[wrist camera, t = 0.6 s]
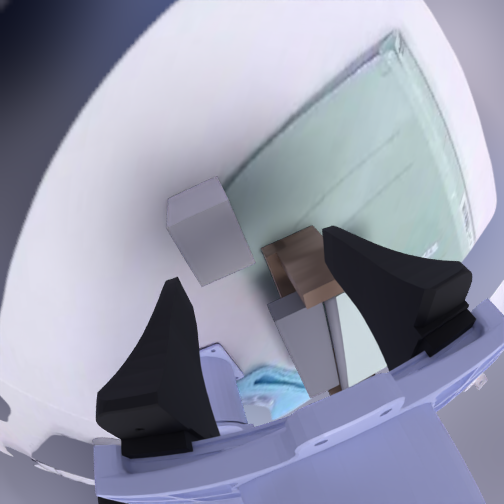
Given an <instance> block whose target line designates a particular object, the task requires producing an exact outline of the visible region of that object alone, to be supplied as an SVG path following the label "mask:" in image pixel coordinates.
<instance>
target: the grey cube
mask: <svg viewBox="0 0 504 504" xmlns="http://www.w3.org/2000/svg"><path fill="white" fill-rule="evenodd" d="M167 230H168V232H169V233H170V235H171V237H172V239H173V240H174V242H175V244H176V245H177V247H178V249H179V250H180V252H181V254H182V255H183V257H184V259H185V260H186V262H187V264H188V265H189V267H190V269H191V270H192V272H193V273H194V275H195V277H196V278H197V280H198V281H199V283H200V285H201V286H202V287H203V286H205V285H208V284H210V283H212V282H214V281H217V280H219V279H221V278H223V277H226V276H228V275H230V274H233V273H235V272H237V271H239V270H242V269H244V268H246V267H248V266H251V265H253V264H255V263H256V262H255V260H254V258H253V255H252V253H251V251H250V248H249V246H248V244H247V241H246V239H245V237H244V234H243V232H242V230H241V227H240V225H239V223H238V221H237V218H236V216H235V214H234V211H233V209H232V207H231V204H230V202H229V200H228V198H227V196H226V194H225V192H224V190H223V187H222V185H221V183H220V181H219V179H218V177H217V176H216V177H214V178H212V179H209V180H207V181H205V182H203V183H200V184H198V185H196V186H194V187H192V188H190V189H188V190H185V191H183V192H181V193H179V194H177V195H175V196H173V197H171V198H169V199H168V208H167Z"/></svg>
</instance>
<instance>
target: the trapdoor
mask: <svg viewBox="0 0 504 504" xmlns="http://www.w3.org/2000/svg"><path fill="white" fill-rule="evenodd" d="M324 305H325V309H326V314H327V318H328V323H329V327H330V332H331V337H332V342H333V347H334V352H335V357H336V362H337V368H338V373H339V379H340V384H341V389H342V390H344V389H347V388H349V387H351V386H353V385H355V384H357V383H358V382H360V381H362V380H364V379H366V378H368V377H369V376H371V375H373V374H375V373H376V372H378V371H380V370H381V369H383V368H385V367H387V364H386V362H385V359H384V357H383V355H382V353H381V351H380V349H379V346H378V344H377V342H376V340H375V338H374V336H373V335H372V333H371V331H370V329H369V327H368V325H367V324H366V322H365V320H364V318H363V317H362V315H361V313H360V312H359V310H358V309H357V307H356V306H355V305H354V303H353V302H352V301H351V299H350V298H349V297H348V296H347V294H346V293H345V292H342V293H340V294H338V295H336V296H334V297H332V298H330V299H328V300H326V301H324ZM267 306H268V308H269V310H270V313H271V315H272V317H273V320H274V322H275V324H276V326H277V328H278V330H279V333H280V335H281V337H282V339H283V341H284V343H285V345H286V348H287V350H288V352H289V354H290V356H291V358H292V360H293V363H294V365H295V367H296V369H297V371H298V373H299V375H300V377H301V380H302V382H303V384H304V386H305V388H306V390H307V392H308V394H309V397H310V398H313V397H315V396H317V395H319V394H321V393H323V392H325V391H328V390H330V389H332V388H334V387H336V386H338V385H340V384H339V379H338V373H337V368H336V363H335V358H334V353H333V348H332V343H331V338H330V334H329V329H328V325H327V320H326V316H325V311H324V307H323V302H322V303H320V304H318V305H316V306H314V307H311V308H309V309H307V308H306V307H305V305H304V303H303V301H302V300H301V298H300V296H299V295H298V293H297V291H296V292H294V293H291V294H289V295H287V296H285V297H283V298H280V299H278V300H276V301H274V302H272V303H269V304H267Z"/></svg>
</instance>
